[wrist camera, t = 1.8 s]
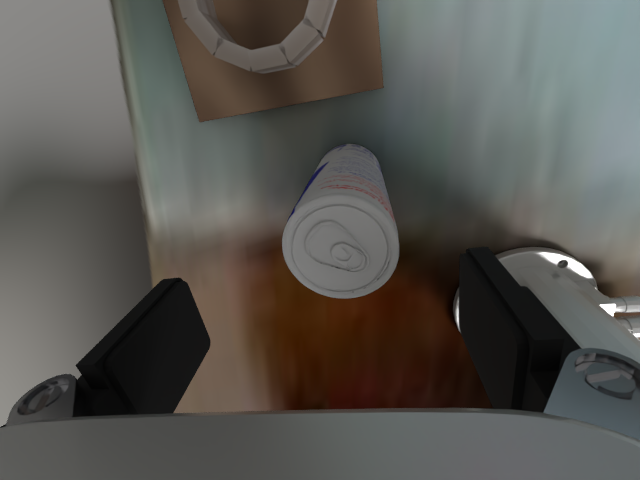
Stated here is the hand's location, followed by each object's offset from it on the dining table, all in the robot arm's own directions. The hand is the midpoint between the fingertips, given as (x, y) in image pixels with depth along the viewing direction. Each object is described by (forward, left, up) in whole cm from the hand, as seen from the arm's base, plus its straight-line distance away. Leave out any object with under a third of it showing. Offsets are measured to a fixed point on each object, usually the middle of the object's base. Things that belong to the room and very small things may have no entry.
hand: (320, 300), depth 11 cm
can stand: (+4, -14, -19) cm, 24 cm away
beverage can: (0, 0, -19) cm, 19 cm away
